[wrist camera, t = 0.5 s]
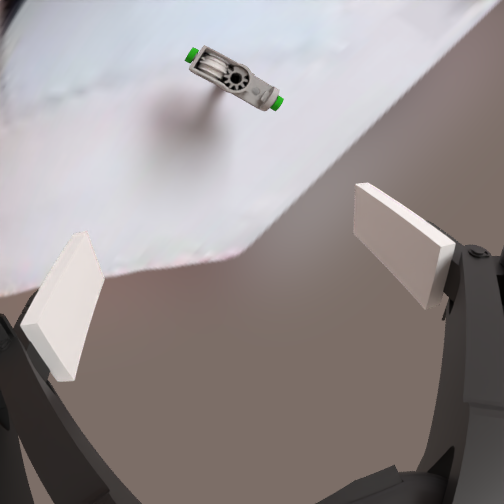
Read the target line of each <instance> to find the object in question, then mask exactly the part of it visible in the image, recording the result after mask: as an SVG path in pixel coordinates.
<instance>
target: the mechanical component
mask: <svg viewBox="0 0 504 504" xmlns="http://www.w3.org/2000/svg"><path fill="white" fill-rule="evenodd" d="M198 51H199V50H198V49H196V48H194V47H193V48H192V49H191V51H190V52H189V54H188V55H187V57H186V59H185V61H186V62H188V63H190V64H191V62H192V61H193V63H192V64H191V66H190V67H189V70H190V71H191V72H193V73H194V74H196V75H198V76H200V77H202V78H204V79H206V80H208V81H209V82H211V83H213V84H215V85H217V86H219V87H221V88H222V89H223V90H224V91H226V92H229V93H231V94H233V95H235V96H237V97H239V98H240V99H242V100H244V101H246V102H247V103H249V104H251V105H252V106H254V107H256V108H258V109H260V110H262V111H267V110H268V109H269V108H271V109H272V110H274V111H276V110H277V109H278V108H279V107H280V106H281V104H282V102H283V100H284V99H283V98H282V97H280V96H279V95H278V94H279V89H277V88H275V87H272V86H271V85H269V84H267V83H266V82H264V81H263V80H261V79H259V78H258V77H256V76H254V75H255V74H253V73H251V71H250V69H249V68H248V67H247V66H245V65H243V64H239V63H237V62H235V61H233V60H231V59H230V58H228V57H226V56H224V55H222V54H220V53H218V52H217V51H215V50H213V49H211V48H209V47H207V46H205V45H204V46H203V47H202V49H201V50H200V52H199V53H198ZM219 57H220V58H219ZM221 58H222V59H221ZM223 59H224V60H223Z"/></svg>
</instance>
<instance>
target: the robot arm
mask: <svg viewBox="0 0 504 504" xmlns="http://www.w3.org/2000/svg"><path fill="white" fill-rule="evenodd" d="M354 208H355V210H354V231H353V233H354V235H355V236H357V237H358V239H360V240H361V242H362V243H363V244H364V245H365V246H366V247H367V248H368V249H369V250H370V251H371V252H372V253H373V254H374V255H375V256H376V257H377V258H378V259H379V260H380V261H381V262H382V263H383V264H384V265H385V266H386V267H387V268H388V270H390V272H391V273H392V274H393V275H394V276H395V277H396V278H397V279H398V280H399V281H400V282H401V283H402V284H403V286H404V287H405V288H406V289H407V290H408V291H409V292H410V293H411V294H412V296H413V297H414V298H415V299H416V300H417V301H418V302H419V303H420V304H421V306H422V307H423V308H424V309H425V310H427V309H430V308H432V307H435V306H438V305H440V302H441V299H442V295H443V292H444V293H445V294H446V295H447V296H448V297H449V300H448V303H447V306H446V309H445V312H444V315H443V318H442V320H445V318H446V325H445V338H444V349H443V358H442V367H441V374H440V381H439V388H438V394H437V401H436V406H435V411H434V416H433V421H432V426H431V430H430V435H429V439H428V443H427V447H426V451H425V453H424V456H423V458H422V460H421V462H420V464H419V466H418V468H417V470H416V472H415V471H410V472H398V471H397V469H396V467H395V465H393V466H391V467H389V468H386V469H384V470H381V471H379V472H376V473H374V474H371V475H369V476H366V477H364V478H361V479H358V480H355V481H353V482H352V483H350V484H349V485H347V486H345V487H344V488H342V489H341V490H339V491H337V492H336V493H334V494H332V495H330V496H329V497H327V498H325V499H323V500H322V501H320V502H318V503H316V504H504V247H503V250H502V253H501V256H491V254H490V253H489V252H488V251H487V250H486V249H484V248H482V247H479V246H476V245H465V246H463V245H462V244H460V243H458V241H456V240H455V239H454V238H452V237H451V236H450V235H448V234H446V232H444V231H443V230H440V228H439V227H437V226H436V225H434V224H433V223H431V222H429V221H426V220H424V219H422V218H421V217H419V216H418V215H417V214H415V213H414V212H412V211H410V210H409V209H408V208H406V207H405V206H403V205H402V204H400V203H399V202H397V201H396V200H394V199H393V198H391V197H390V196H388V195H387V194H385V193H384V192H382V191H381V190H379V189H377V188H376V187H374V186H373V185H371V184H370V183H361V184H355V207H354ZM104 279H105V278H104V276H103V273H102V271H101V268H100V265H99V263H98V260H97V257H96V254H95V252H94V249H93V246H92V243H91V240H90V237H89V234H88V231H83V232H79V233H74V234H73V236H72V237H71V239H70V240H69V242H68V243H67V245H66V246H65V248H64V249H63V251H62V252H61V254H60V255H59V257H58V259H57V260H56V262H55V264H54V265H53V267H52V268H51V270H50V272H49V273H48V275H47V277H46V278H45V280H44V282H43V284H42V285H41V287H40V289H39V290H37V291H36V292H35V293H34V294H33V295H32V296H31V297H30V298H29V300H28V302H27V304H26V305H25V306H26V307H24V309H23V311H22V314H21V315H20V316H19V318H18V320H17V322H16V324H15V326H14V328H12V326H11V325H10V323H9V321H8V320H7V318H6V316H5V315H4V314H0V504H34V501H33V498H32V494H31V491H30V487H29V484H28V480H27V476H26V472H25V468H24V464H23V459H22V454H21V450H20V444H19V438H20V440H21V442H22V444H23V447H24V449H25V451H26V453H27V455H28V457H29V459H30V461H31V463H32V465H33V467H34V469H35V470H36V473H37V474H38V476H39V478H40V480H41V482H42V483H43V485H44V487H45V489H46V490H47V492H48V494H49V495H50V497H51V499H52V500H53V502H54V503H55V504H142V503H141V502H140V501H139V500H138V499H137V498H136V497H135V496H134V495H133V494H132V493H131V492H130V491H129V490H128V488H127V487H126V486H125V485H124V484H123V483H122V482H121V481H120V479H119V478H118V477H117V476H116V475H115V474H114V472H113V471H112V470H111V469H110V468H109V466H108V465H107V464H106V463H105V462H104V461H103V459H102V458H101V456H100V455H99V454H98V453H97V452H96V450H95V449H94V448H93V446H92V445H91V444H90V442H89V441H88V439H87V438H86V437H85V435H84V434H83V432H82V431H81V430H80V428H79V427H78V425H77V424H76V422H75V421H74V419H73V418H72V416H71V415H70V413H69V412H68V410H67V409H66V407H65V406H64V404H63V403H62V401H61V400H60V398H59V396H58V395H57V393H56V391H55V390H54V388H53V386H52V385H51V383H50V382H49V381H48V380H47V379H48V376H49V372H51V373H52V375H53V376H54V377H55V379H56V380H57V381H58V382H60V381H74V380H75V376H76V372H77V368H78V364H79V360H80V357H81V353H82V349H83V346H84V342H85V338H86V335H87V331H88V328H89V325H90V322H91V318H92V315H93V312H94V309H95V306H96V303H97V300H98V297H99V294H100V291H101V288H102V285H103V282H104ZM18 436H19V438H18Z"/></svg>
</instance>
